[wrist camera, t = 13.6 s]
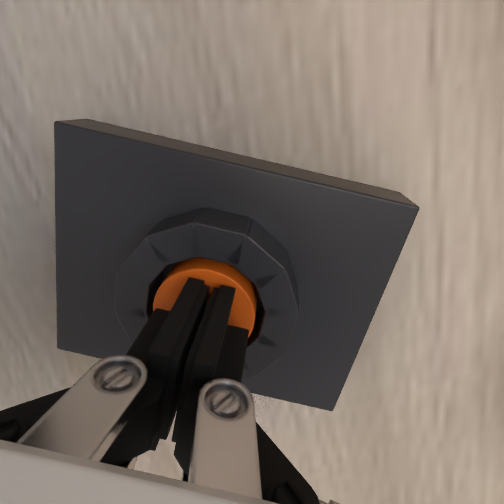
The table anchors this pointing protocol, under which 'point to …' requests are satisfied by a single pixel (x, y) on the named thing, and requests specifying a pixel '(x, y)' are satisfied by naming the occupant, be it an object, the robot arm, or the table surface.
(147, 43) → the table surface
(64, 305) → the button block
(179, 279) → the button
